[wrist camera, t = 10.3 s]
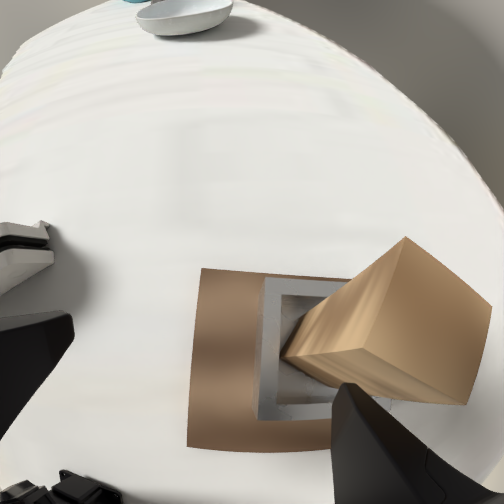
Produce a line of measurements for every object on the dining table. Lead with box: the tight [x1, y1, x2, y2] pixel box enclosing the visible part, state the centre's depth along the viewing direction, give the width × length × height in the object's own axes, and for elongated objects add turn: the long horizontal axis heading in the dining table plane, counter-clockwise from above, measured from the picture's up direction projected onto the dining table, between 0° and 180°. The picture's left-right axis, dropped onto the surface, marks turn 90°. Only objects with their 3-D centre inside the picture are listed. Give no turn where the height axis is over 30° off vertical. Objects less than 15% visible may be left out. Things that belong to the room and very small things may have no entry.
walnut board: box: [187, 268, 352, 453], centre depth 19 cm, size 14×13×1 cm
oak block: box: [279, 236, 492, 405], centre depth 12 cm, size 4×4×13 cm
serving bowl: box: [135, 0, 233, 35], centre depth 39 cm, size 21×21×7 cm
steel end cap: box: [252, 277, 391, 421], centre depth 17 cm, size 8×8×4 cm
